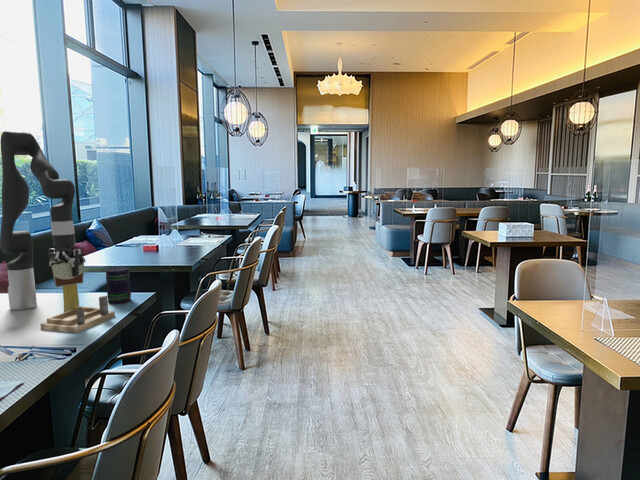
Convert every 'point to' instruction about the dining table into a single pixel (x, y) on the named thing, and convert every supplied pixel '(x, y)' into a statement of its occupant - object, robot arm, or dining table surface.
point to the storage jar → (118, 285)
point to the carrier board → (77, 327)
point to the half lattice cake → (65, 273)
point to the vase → (70, 297)
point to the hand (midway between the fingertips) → (67, 275)
